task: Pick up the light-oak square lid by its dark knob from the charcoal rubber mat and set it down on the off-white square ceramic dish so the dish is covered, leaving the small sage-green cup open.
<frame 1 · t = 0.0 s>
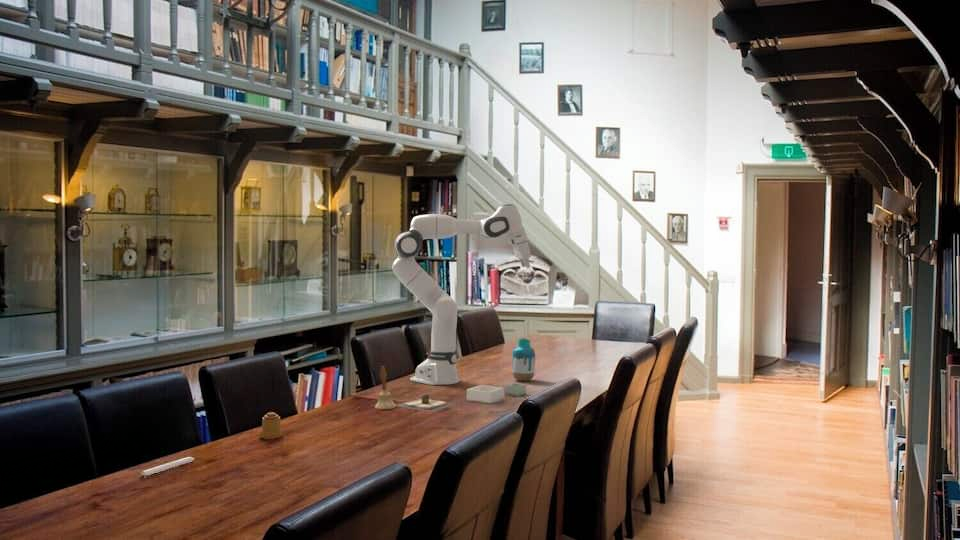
hand: (526, 267, 367), 52 cm above the table, tool tilted 20°, fingers open, 8 cm apart
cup: (515, 394, 340), on the table
mat: (425, 406, 316), on the table
dish: (485, 400, 327), on the table
vase: (523, 381, 370), on the table
hand bell: (385, 407, 312), on the table, touching mat
lid: (425, 404, 316), resting on mat
ornamental finial: (271, 437, 268), on the table
marker: (169, 470, 232), on the table
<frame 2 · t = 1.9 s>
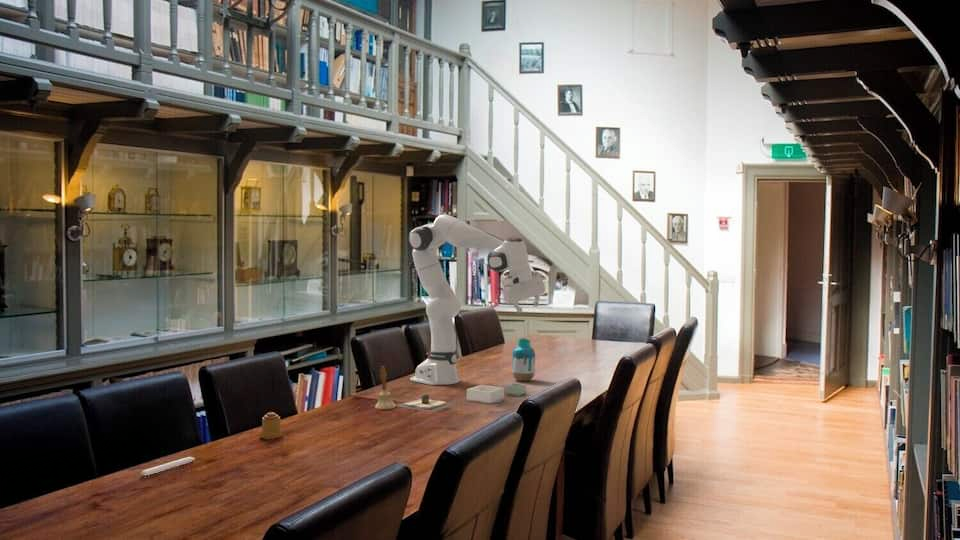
hand: (528, 309, 333), 37 cm above the table, tool pointing down, fingers open, 8 cm apart
nothing on the table moved.
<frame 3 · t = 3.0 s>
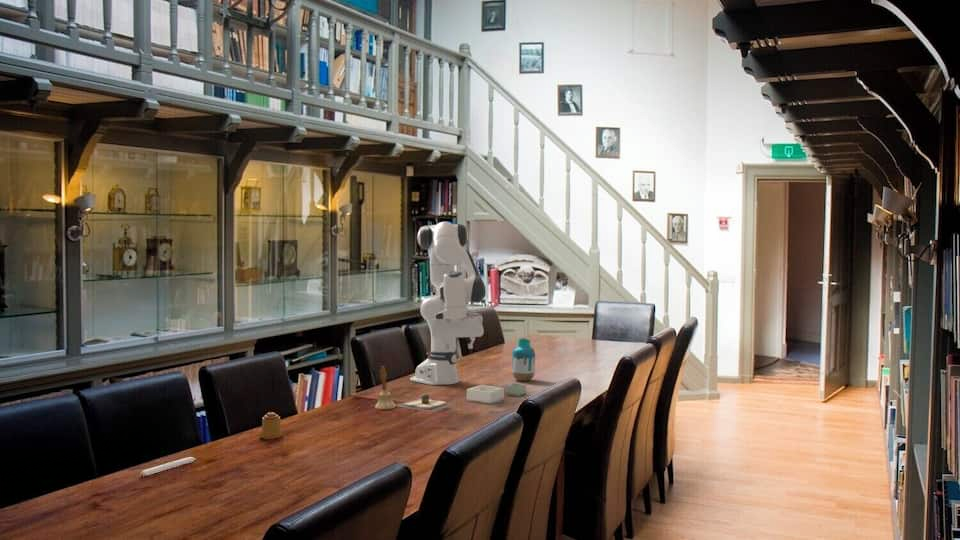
hand: (458, 348, 315), 23 cm above the table, tool pointing down, fingers open, 8 cm apart
nothing on the table moved.
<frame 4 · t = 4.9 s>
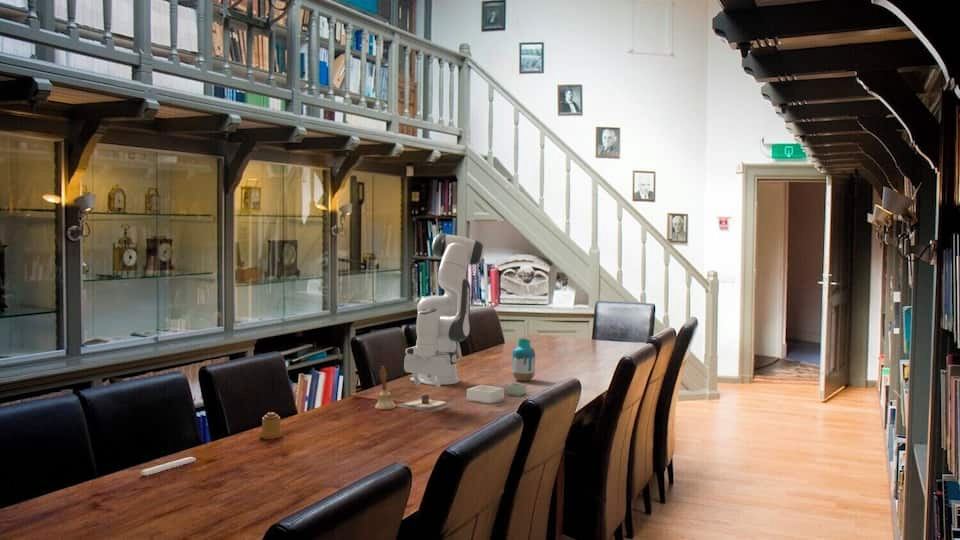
hand: (427, 385, 315), 8 cm above the table, tool pointing down, fingers open, 8 cm apart
nothing on the table moved.
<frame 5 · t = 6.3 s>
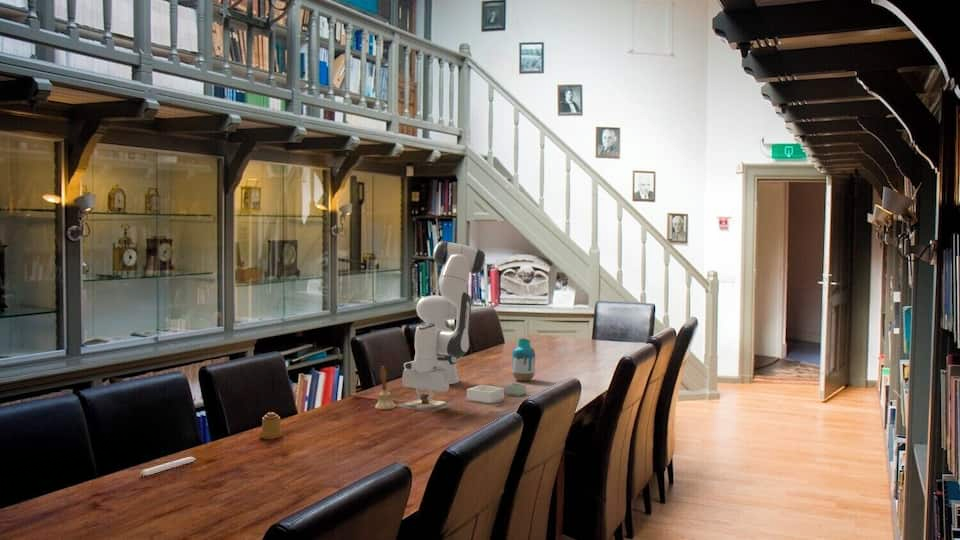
hand: (425, 400, 316), 2 cm above the table, tool pointing down, fingers closed on lid, 3 cm apart
lid: (425, 404, 316), resting on mat, touching gripper
everything else where it was.
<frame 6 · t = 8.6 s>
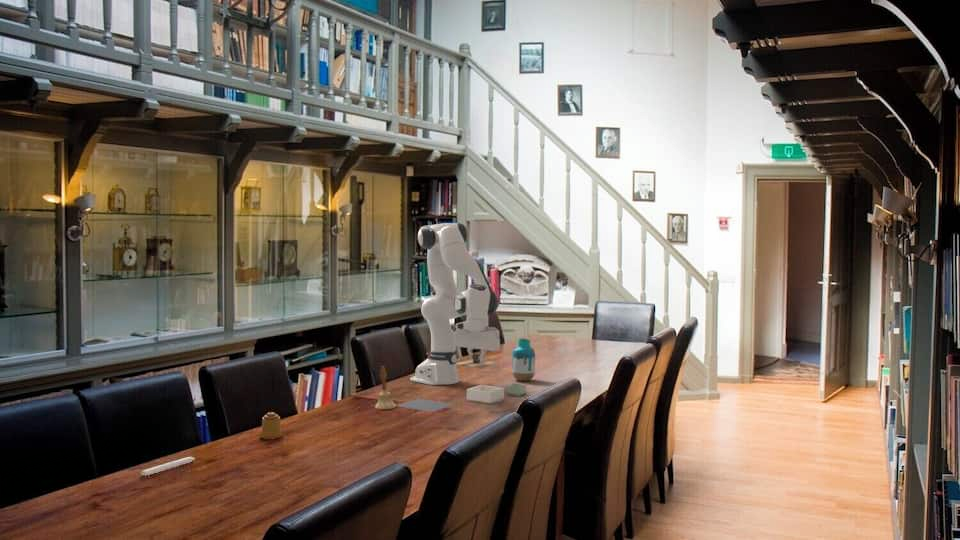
hand: (476, 359, 325), 17 cm above the table, tool pointing down, fingers closed on lid, 3 cm apart
lid: (476, 364, 325), point 15 cm above the table, touching gripper
everything else where it was.
when the fingers open (8 cm above the table, at t = 10.8 s): lid drops 1 cm, resting on dish.
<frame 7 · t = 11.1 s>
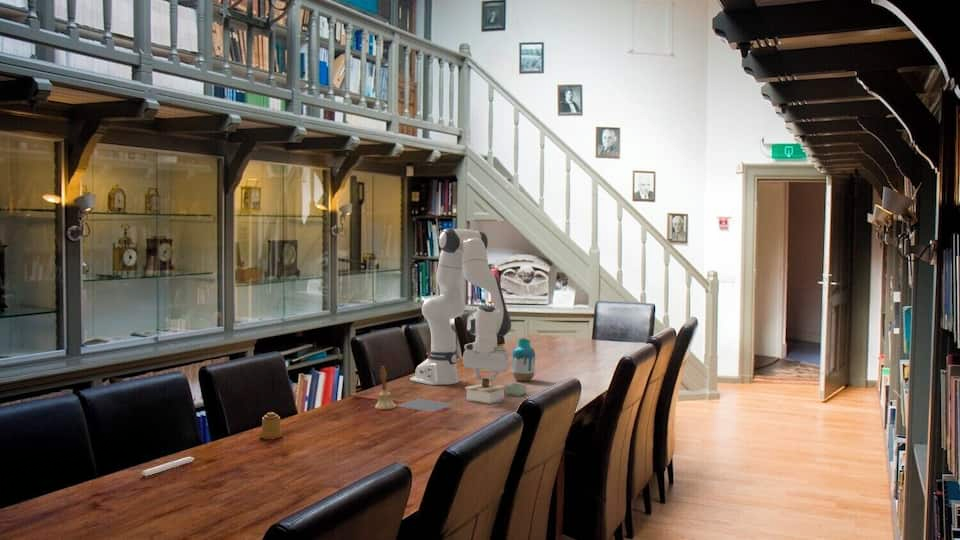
hand: (485, 380, 327), 8 cm above the table, tool pointing down, fingers open, 5 cm apart
lid: (485, 388, 327), point 5 cm above the table, touching dish
everything else where it was.
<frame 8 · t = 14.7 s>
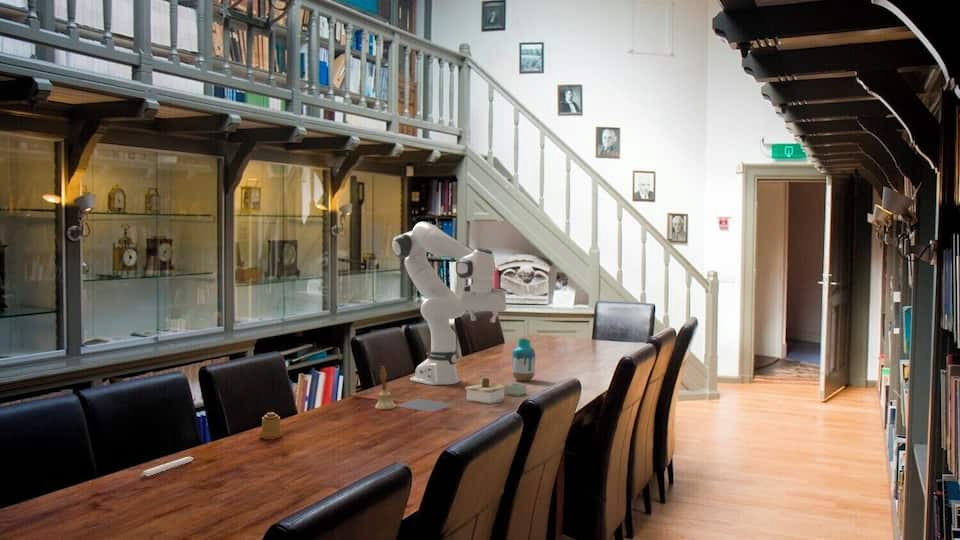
hand: (483, 321, 334), 31 cm above the table, tool pointing down, fingers open, 8 cm apart
nothing on the table moved.
at the end: lid 0.0 cm off-centre on the dish, point 5.0 cm above the dish's base; the gripper is holding nothing; lid tilted 0° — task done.
